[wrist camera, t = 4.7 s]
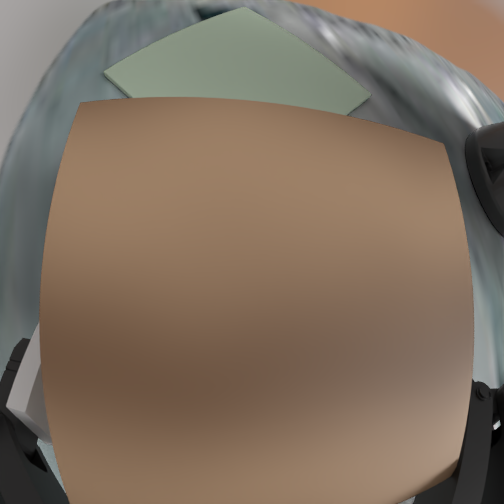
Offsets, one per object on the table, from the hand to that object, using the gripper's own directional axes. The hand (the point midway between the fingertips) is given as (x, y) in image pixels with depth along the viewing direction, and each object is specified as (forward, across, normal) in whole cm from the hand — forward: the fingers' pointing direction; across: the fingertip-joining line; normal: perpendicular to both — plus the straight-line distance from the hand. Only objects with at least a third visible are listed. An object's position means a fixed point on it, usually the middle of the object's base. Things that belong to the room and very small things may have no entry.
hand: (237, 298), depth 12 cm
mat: (+18, +1, +9) cm, 20 cm away
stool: (+4, 0, -5) cm, 6 cm away
